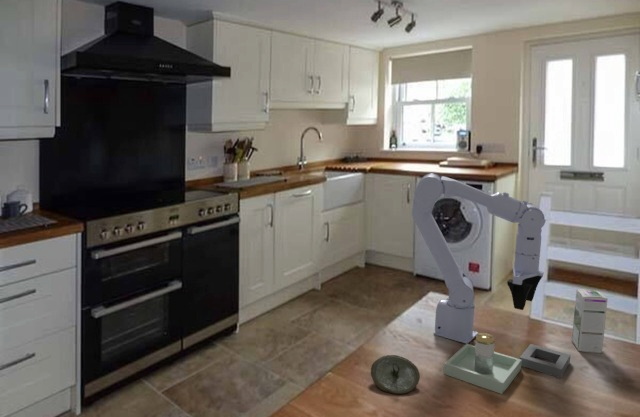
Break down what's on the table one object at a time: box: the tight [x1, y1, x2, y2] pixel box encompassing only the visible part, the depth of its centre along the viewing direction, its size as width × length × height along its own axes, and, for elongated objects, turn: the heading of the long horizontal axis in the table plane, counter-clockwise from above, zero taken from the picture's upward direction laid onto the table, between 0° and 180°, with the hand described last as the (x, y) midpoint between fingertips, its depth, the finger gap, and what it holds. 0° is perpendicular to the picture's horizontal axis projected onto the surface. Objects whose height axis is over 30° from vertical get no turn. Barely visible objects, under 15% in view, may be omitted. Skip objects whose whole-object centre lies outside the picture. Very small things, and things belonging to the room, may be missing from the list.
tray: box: [443, 343, 522, 395], centre depth 109 cm, size 13×13×2 cm
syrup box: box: [571, 288, 608, 354], centre depth 121 cm, size 6×6×14 cm
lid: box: [370, 354, 421, 395], centre depth 104 cm, size 11×10×5 cm
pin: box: [474, 332, 496, 374], centre depth 108 cm, size 4×4×8 cm
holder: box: [519, 343, 571, 379], centre depth 113 cm, size 9×9×2 cm
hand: (523, 304), depth 122 cm, fingers open, 7 cm apart
